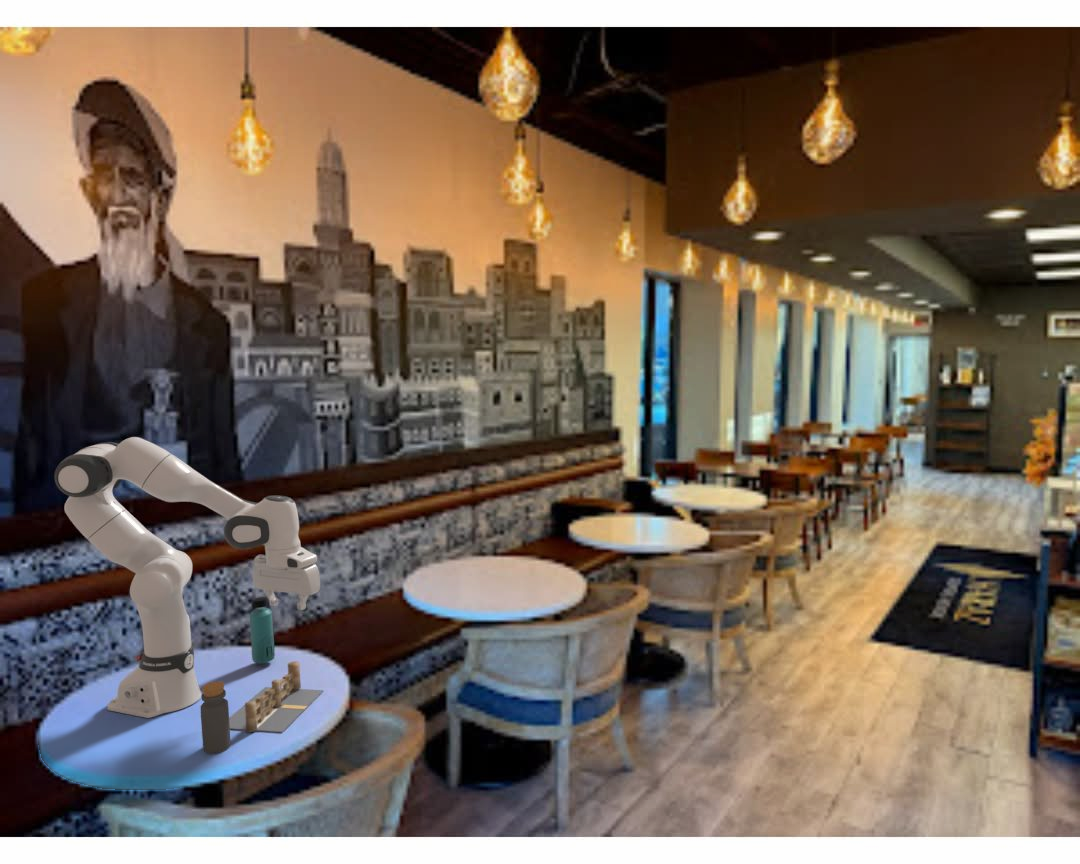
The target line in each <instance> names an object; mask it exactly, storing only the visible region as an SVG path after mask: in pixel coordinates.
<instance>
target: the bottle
mask: <svg viewBox="0 0 1080 864" xmlns="http://www.w3.org/2000/svg"><path fill="white" fill-rule="evenodd" d="M201 690H202V691H201V692H202V695H201V697H200V698H201V701H203V703H201V705H200V719H201V720H200V721H201V737H202V738H201V739H202V749H203V752H204V753H205V754H209V755H212V754H220V753H223V752H225V751H227V750H228V749H229V748H230V747H231V729H230V724H229V717H230V712H229V700H228V699H227V698H225V697H226V694H227V692H226V690H225V682H224V681H211V682H208V683H205V684H204V685H203V686H202V687H201Z"/></svg>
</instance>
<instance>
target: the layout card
mask: <svg viewBox="0 0 1080 864" xmlns="http://www.w3.org/2000/svg"><path fill="white" fill-rule="evenodd" d="M271 688H272V686H271V687H270V686H269V687H268V686H265V687H264V688H263V689H261V690H260V691H259V692H258V693H257V694H255V695H254V696H253V697H252V698H250V699H249V700H248V701H247V702H249V701H255V702H256V698H257V697H258V696H261V697H262V696H263V695H264V694H265V690H267V689H271ZM282 690H283V687H281V688H280V692H281V691H282ZM322 693H324V690H323V689H305V688H300V689H297V690H291V691H289V695H288V696H284V697H283V698H282V699H281V707H279V708H273V707H272V712H271V713H270V714H264V715H263V716H264V720H263V721H262V722H257V730H256V731H255V732H264V733H278V734H283V733H285V731H286V730H288V728H289V727H290V726H291V725H292V724H293V723H294V722H295V721H296V720H297V719H298V718H299V717H300V716H301V715H302V714H303V713H304V712H305V710H307V709H308V708H309V706H311V705H312V704H314V702H315V701H316V699H318V698H319V696H321V695H322ZM272 699H273V698H272V696H271V700H272ZM264 706H265V702H264V703H263V707H264ZM256 713H257V710H256ZM229 724H230V731H232V730H233V731H234V730H235V731H246V715H245V704H244V705H242V706H241V707H240V708H239V709H237V710H236V711H235V712H234V713H233V714H232V715H230V716H229Z"/></svg>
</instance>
